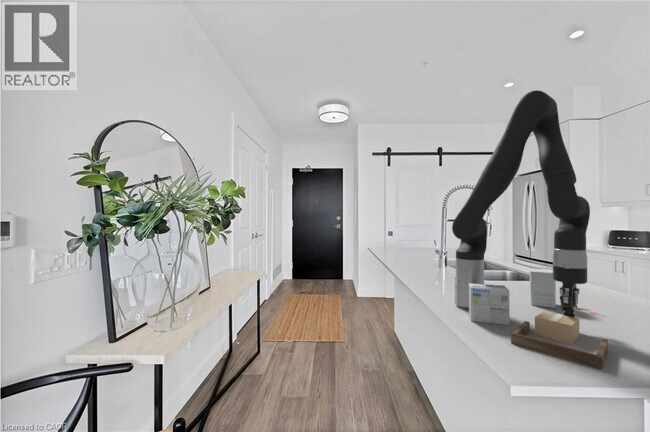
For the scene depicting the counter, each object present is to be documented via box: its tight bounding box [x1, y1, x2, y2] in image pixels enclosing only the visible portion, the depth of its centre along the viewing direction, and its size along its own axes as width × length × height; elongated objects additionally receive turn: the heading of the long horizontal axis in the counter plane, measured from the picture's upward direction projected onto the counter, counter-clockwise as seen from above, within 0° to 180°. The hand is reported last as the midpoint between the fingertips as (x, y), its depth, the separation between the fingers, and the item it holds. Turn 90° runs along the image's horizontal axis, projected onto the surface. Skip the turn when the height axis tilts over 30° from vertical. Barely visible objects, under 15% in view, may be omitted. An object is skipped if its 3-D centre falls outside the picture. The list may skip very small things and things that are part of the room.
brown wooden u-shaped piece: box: [510, 320, 609, 370], centre depth 73 cm, size 13×17×2 cm
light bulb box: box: [468, 283, 511, 326], centre depth 91 cm, size 11×7×11 cm, turn 71°
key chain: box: [556, 304, 607, 318], centre depth 101 cm, size 13×7×1 cm, turn 50°
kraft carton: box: [534, 310, 580, 345], centre depth 80 cm, size 8×8×5 cm
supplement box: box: [529, 268, 557, 309], centre depth 107 cm, size 7×7×13 cm
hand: (569, 325), depth 83 cm, fingers closed
